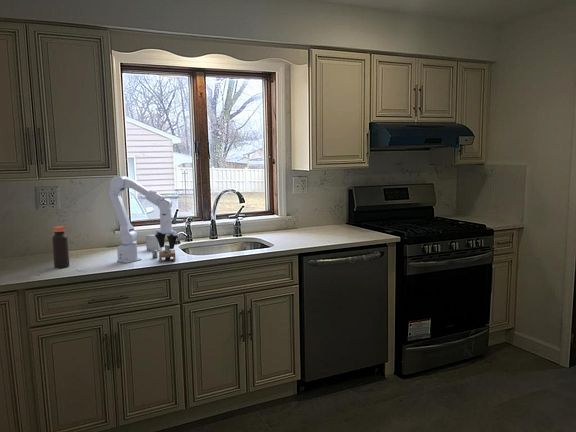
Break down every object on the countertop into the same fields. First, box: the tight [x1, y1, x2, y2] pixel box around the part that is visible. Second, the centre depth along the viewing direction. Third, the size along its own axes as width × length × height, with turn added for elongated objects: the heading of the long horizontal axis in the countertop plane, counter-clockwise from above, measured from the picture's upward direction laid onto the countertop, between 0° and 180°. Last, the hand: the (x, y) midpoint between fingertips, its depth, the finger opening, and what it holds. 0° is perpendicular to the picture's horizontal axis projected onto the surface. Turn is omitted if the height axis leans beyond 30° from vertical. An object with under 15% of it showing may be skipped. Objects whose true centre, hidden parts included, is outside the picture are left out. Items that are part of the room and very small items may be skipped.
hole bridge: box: [158, 249, 176, 263], centre depth 244 cm, size 9×8×4 cm
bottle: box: [51, 225, 70, 269], centre depth 231 cm, size 7×7×20 cm
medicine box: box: [145, 234, 163, 252], centre depth 272 cm, size 8×4×9 cm, turn 74°
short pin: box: [151, 250, 159, 260], centre depth 250 cm, size 3×3×4 cm
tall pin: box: [164, 244, 171, 261], centre depth 244 cm, size 3×3×8 cm
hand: (166, 248), depth 244 cm, fingers open, 7 cm apart
